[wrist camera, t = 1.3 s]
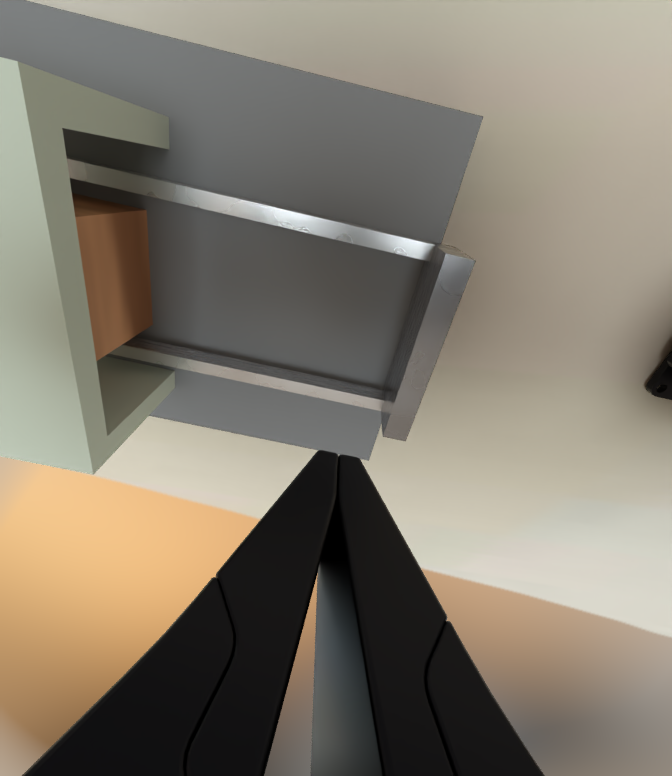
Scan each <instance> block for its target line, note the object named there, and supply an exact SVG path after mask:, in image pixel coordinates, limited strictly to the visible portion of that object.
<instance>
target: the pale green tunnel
mask: <svg viewBox="0 0 672 776" xmlns="http://www.w3.org/2000/svg"><path fill="white" fill-rule="evenodd" d="M62 128H66V129H71V130H76V131H80V132H85V133H90V134H95V135H100V136H105V137H110V138H115V139H120V140H125V141H130V142H135V143H140V144H145V145H150V146H155V147H160V148H165V149H169V117H167V116H164V115H162V114H159V113H156V112H154V111H151V110H148V109H145V108H143V107H140V106H137V105H135V104H132V103H129V102H126V101H124V100H121V99H118V98H116V97H113V96H110V95H107V94H105V93H102V92H99V91H97V90H94V89H91V88H88V87H86V86H83V85H80V84H78V83H75V82H72V81H70V80H67V79H64V78H61V77H59V76H56V75H53V74H51V73H48V72H45V71H42V70H40V69H37V68H34V67H32V66H29V65H26V64H23V63H21V62H18V61H14V60H10V59H6V58H2V57H0V456H1V457H7V458H11V459H16V460H22V461H27V462H32V463H37V464H42V465H47V466H52V467H57V468H63V469H68V470H73V471H78V472H83V473H88V474H94V473H95V472H96V471H97V470H98V469H99V468H100V467H101V466H102V465H103V464H104V463H105V462H106V461H107V459H108V458H109V457H110V456H111V455H112V454H113V453H114V452H115V451H116V450H117V449H118V448H119V447H120V446H121V445H122V444H123V442H124V441H125V440H126V439H127V438H128V437H129V436H130V435H131V434H132V433H133V432H134V431H135V430H136V429H137V428H138V426H139V425H140V424H141V423H142V422H143V421H144V420H145V419H146V418H147V417H148V416H149V415H150V414H151V413H152V412H153V410H154V409H155V408H156V407H157V406H158V405H159V404H160V403H161V402H162V401H163V400H164V399H165V398H166V397H167V396H168V395H169V393H170V392H171V391H172V390H173V389H174V388H175V371H173V370H168V369H163V368H158V367H154V366H149V365H144V364H139V363H135V362H130V361H125V360H121V359H116V358H111V357H106V356H104V357H102V358H101V359H99V360H98V361H96V355H95V349H94V342H93V335H92V328H91V321H90V314H89V308H88V301H87V294H86V287H85V280H84V273H83V267H82V260H81V253H80V246H79V239H78V232H77V226H76V219H75V212H74V205H73V198H72V191H71V184H70V178H69V171H68V164H67V157H66V150H65V143H64V137H63V130H62Z"/></svg>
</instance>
